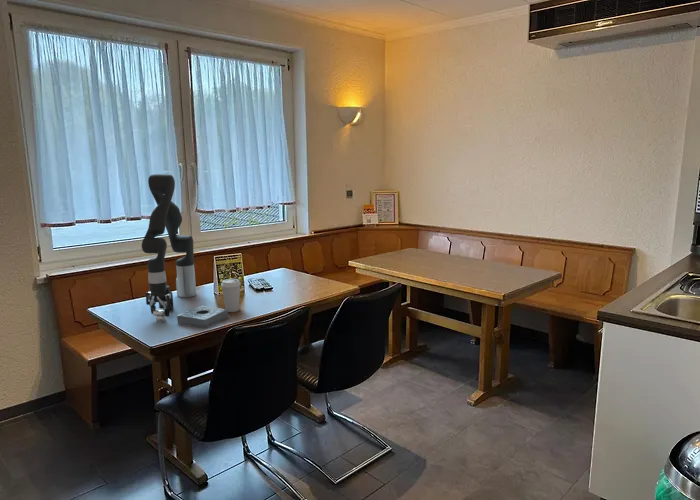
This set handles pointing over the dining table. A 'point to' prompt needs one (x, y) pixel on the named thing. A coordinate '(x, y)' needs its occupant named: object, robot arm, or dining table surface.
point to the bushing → (159, 315)
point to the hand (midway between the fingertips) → (160, 314)
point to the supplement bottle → (164, 301)
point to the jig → (202, 316)
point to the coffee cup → (231, 294)
